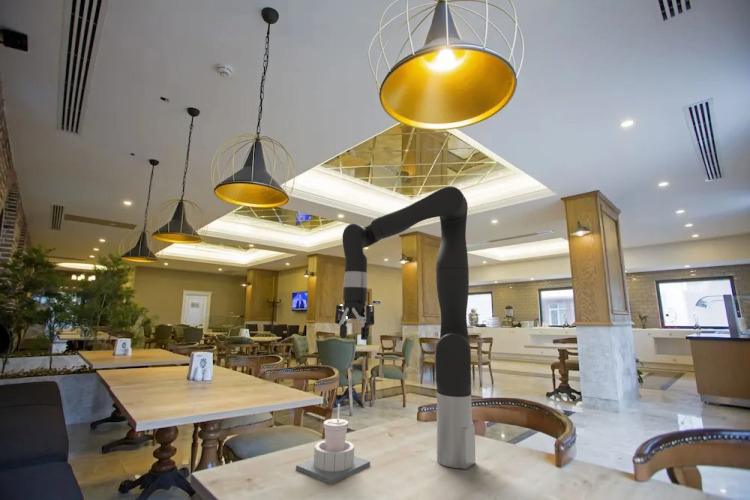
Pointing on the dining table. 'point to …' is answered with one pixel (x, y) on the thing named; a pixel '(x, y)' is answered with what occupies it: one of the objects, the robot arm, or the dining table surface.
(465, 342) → the robot arm
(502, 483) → the dining table surface
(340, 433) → the smoothie
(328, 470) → the holder
